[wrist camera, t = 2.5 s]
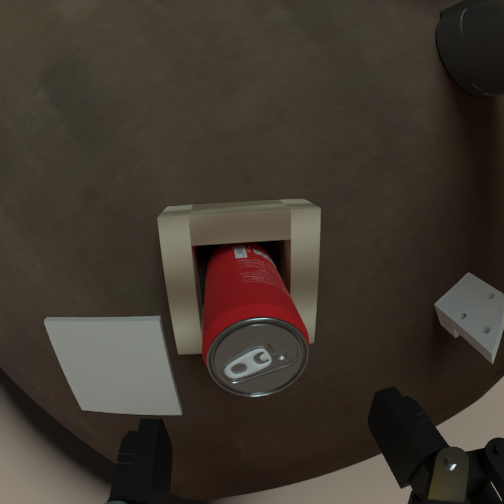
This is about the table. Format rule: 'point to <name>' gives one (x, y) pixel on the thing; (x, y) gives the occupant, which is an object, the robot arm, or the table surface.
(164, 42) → the table surface
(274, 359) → the beverage can
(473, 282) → the white wedge bracket
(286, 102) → the table surface
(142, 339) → the pad
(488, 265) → the table surface
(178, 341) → the collar
